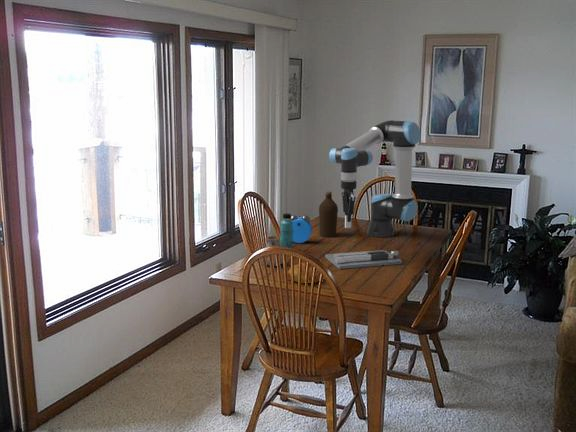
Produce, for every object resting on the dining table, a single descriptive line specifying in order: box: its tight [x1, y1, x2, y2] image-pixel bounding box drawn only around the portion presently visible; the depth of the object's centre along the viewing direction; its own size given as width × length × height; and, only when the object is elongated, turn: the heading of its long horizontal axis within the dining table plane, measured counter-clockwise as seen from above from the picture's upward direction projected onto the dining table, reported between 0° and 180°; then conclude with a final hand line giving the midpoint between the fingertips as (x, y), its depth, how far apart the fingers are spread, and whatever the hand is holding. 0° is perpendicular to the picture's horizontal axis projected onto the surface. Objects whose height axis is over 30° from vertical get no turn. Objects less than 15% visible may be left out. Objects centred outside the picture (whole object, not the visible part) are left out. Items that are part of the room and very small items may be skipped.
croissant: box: [287, 262, 320, 285], centre depth 269 cm, size 14×16×8 cm
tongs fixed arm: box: [335, 249, 399, 263], centre depth 293 cm, size 33×5×3 cm, turn 106°
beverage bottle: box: [279, 212, 294, 249], centre depth 310 cm, size 6×7×20 cm
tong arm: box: [333, 250, 389, 260], centre depth 296 cm, size 26×3×2 cm, turn 105°
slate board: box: [324, 249, 403, 270], centre depth 298 cm, size 32×20×2 cm, turn 106°
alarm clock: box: [288, 214, 313, 244], centre depth 330 cm, size 13×6×15 cm, turn 82°
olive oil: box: [318, 190, 339, 238], centre depth 343 cm, size 11×11×25 cm
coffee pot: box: [261, 235, 283, 267], centre depth 285 cm, size 21×12×15 cm, turn 0°
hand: (347, 227), depth 302 cm, fingers closed
